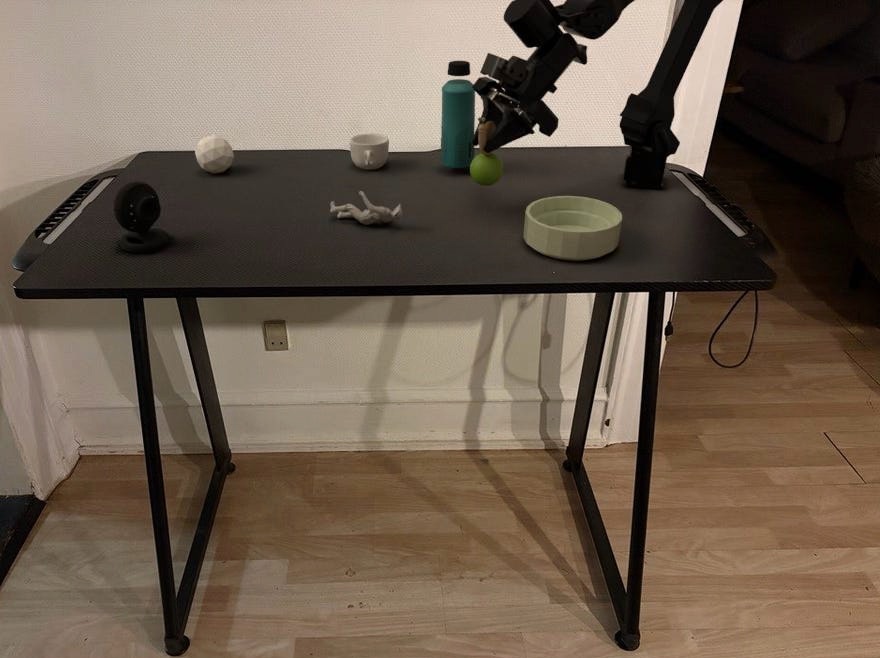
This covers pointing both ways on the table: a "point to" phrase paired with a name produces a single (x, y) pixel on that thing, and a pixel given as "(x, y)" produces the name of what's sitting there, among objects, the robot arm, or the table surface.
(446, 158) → the beverage bottle
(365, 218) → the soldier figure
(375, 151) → the teacup
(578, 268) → the table surface
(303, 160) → the table surface
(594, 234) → the basin
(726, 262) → the table surface
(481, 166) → the snail figurine
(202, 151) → the ornament
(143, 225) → the webcam
